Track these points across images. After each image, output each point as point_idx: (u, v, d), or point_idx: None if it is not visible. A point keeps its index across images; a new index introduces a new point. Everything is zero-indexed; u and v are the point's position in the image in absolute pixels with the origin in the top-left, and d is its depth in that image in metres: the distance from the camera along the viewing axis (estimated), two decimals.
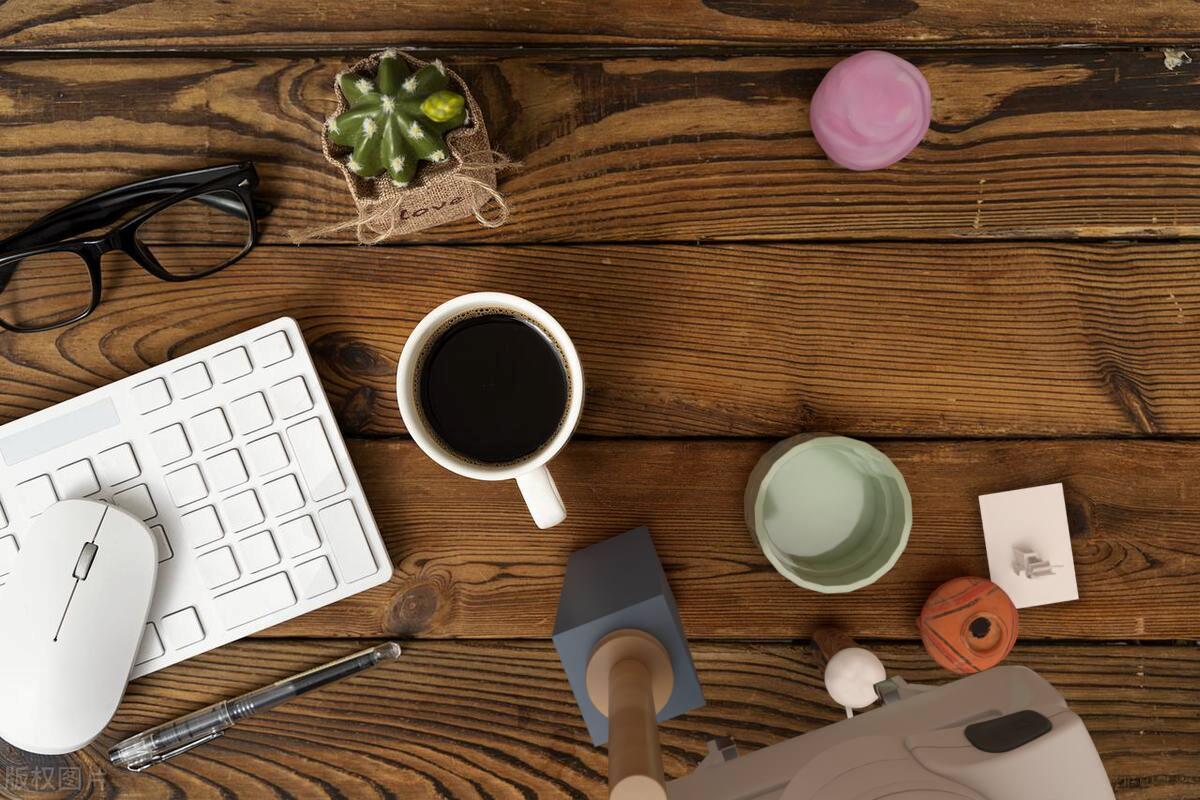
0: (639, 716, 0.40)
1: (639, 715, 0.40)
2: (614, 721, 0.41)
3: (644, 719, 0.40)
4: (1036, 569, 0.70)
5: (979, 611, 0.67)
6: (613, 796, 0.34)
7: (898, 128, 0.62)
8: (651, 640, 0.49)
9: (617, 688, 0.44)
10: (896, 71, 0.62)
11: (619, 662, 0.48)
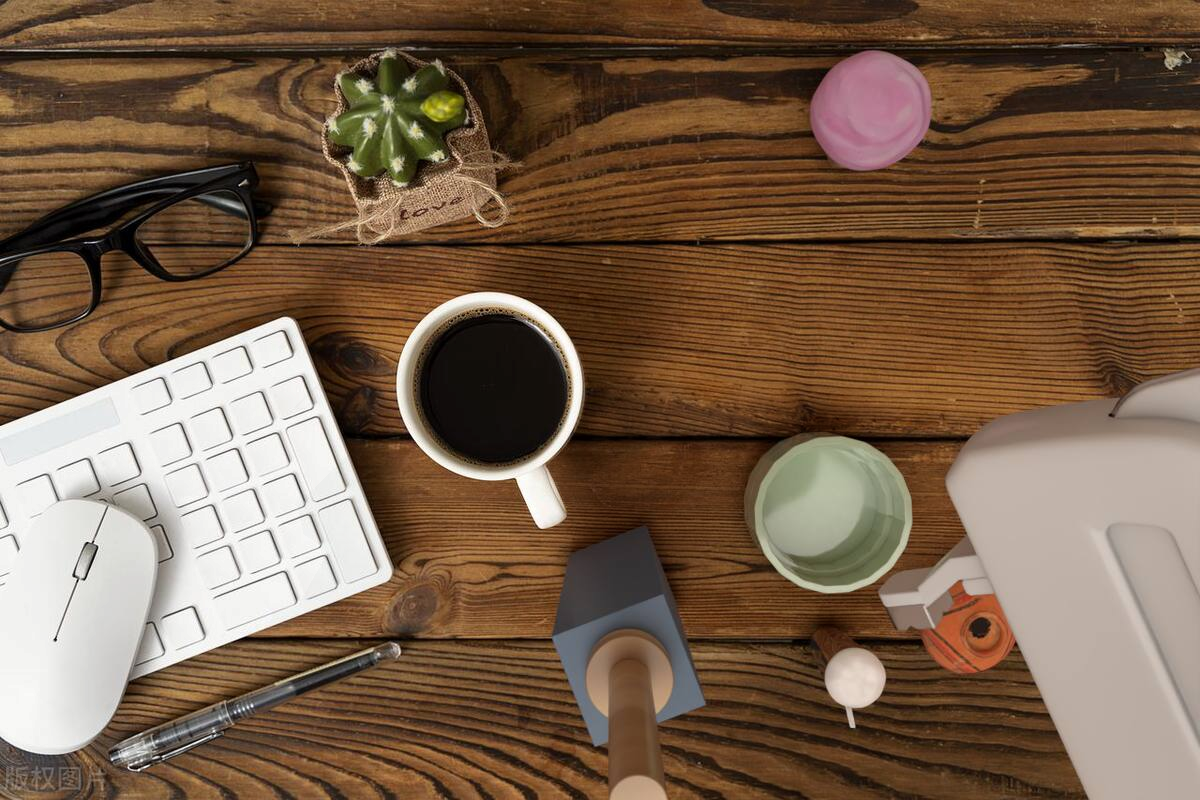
0: (639, 716, 0.40)
1: (639, 715, 0.40)
2: (614, 721, 0.41)
3: (644, 719, 0.40)
4: None
5: (979, 611, 0.67)
6: (613, 796, 0.34)
7: (898, 128, 0.62)
8: (651, 640, 0.49)
9: (617, 688, 0.44)
10: (896, 71, 0.62)
11: (619, 662, 0.48)
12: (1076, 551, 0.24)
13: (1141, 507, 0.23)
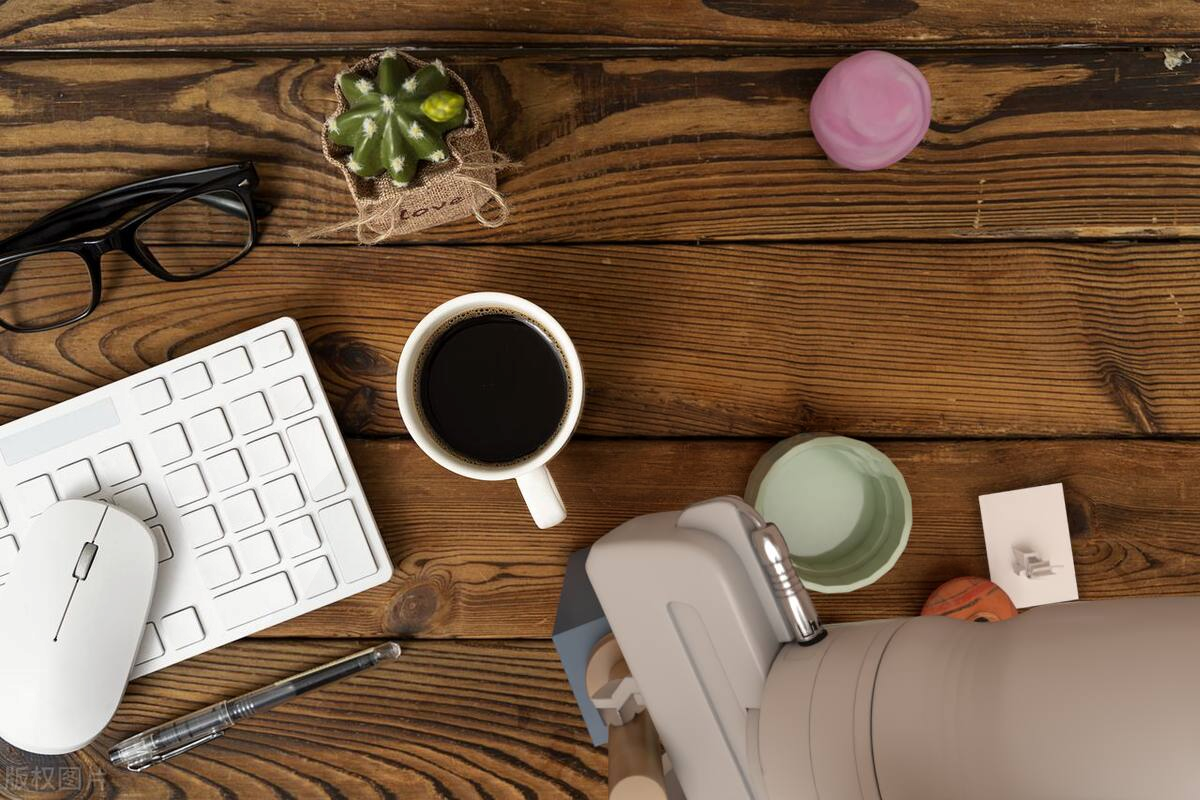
0: (639, 716, 0.40)
1: (639, 715, 0.40)
2: None
3: (644, 719, 0.40)
4: (1036, 569, 0.70)
5: (979, 611, 0.67)
6: (613, 796, 0.34)
7: (898, 128, 0.62)
8: None
9: None
10: (896, 71, 0.62)
11: (619, 662, 0.48)
12: (653, 620, 0.34)
13: (679, 591, 0.33)
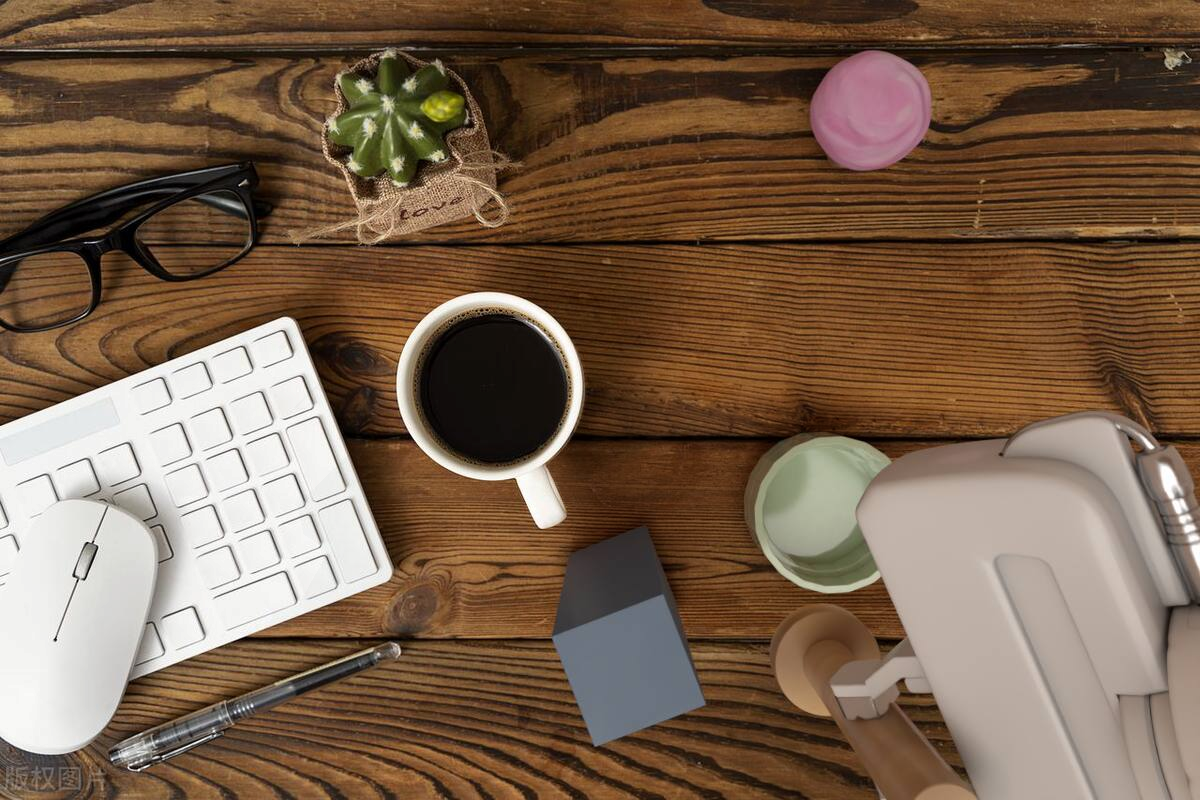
0: (891, 707, 0.32)
1: (890, 705, 0.32)
2: None
3: (898, 711, 0.32)
4: None
5: None
6: None
7: (898, 128, 0.62)
8: (853, 616, 0.40)
9: None
10: (896, 71, 0.62)
11: (817, 643, 0.40)
12: (968, 580, 0.26)
13: (1022, 540, 0.25)
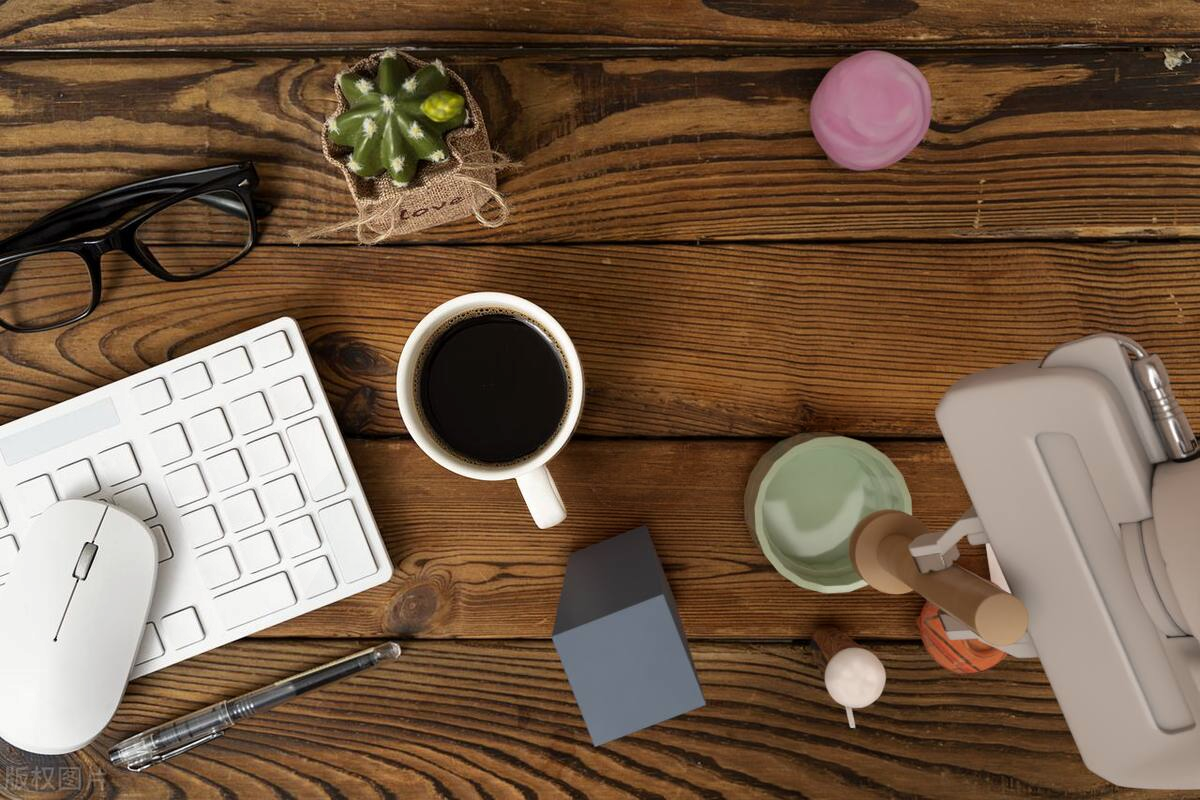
0: (954, 564, 0.44)
1: (953, 563, 0.44)
2: None
3: (960, 566, 0.44)
4: None
5: None
6: (979, 612, 0.38)
7: (898, 128, 0.62)
8: None
9: (907, 551, 0.48)
10: (896, 71, 0.62)
11: (888, 537, 0.52)
12: (1017, 453, 0.38)
13: (1055, 421, 0.36)
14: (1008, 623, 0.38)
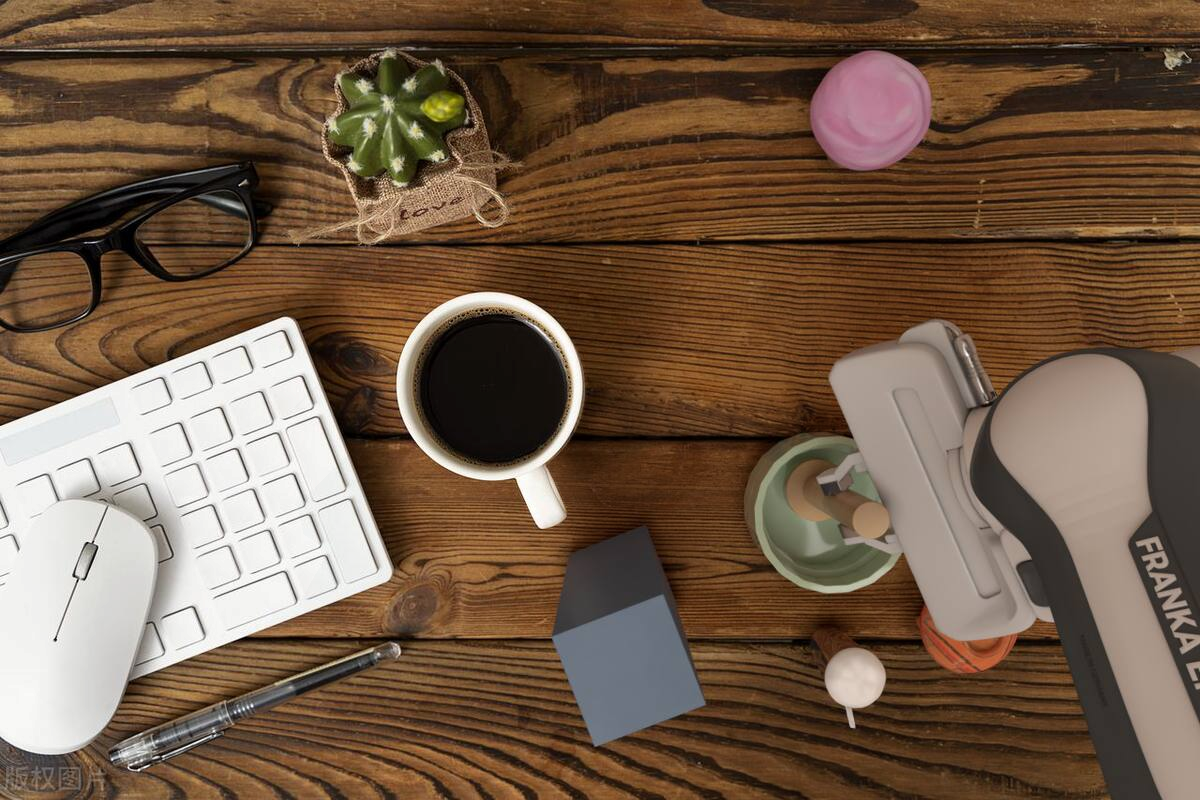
0: (849, 489, 0.60)
1: (848, 489, 0.60)
2: (831, 494, 0.61)
3: None
4: None
5: None
6: (855, 515, 0.54)
7: (898, 128, 0.62)
8: (832, 463, 0.69)
9: None
10: (896, 71, 0.62)
11: (811, 477, 0.68)
12: (881, 404, 0.54)
13: (904, 380, 0.53)
14: (875, 522, 0.54)
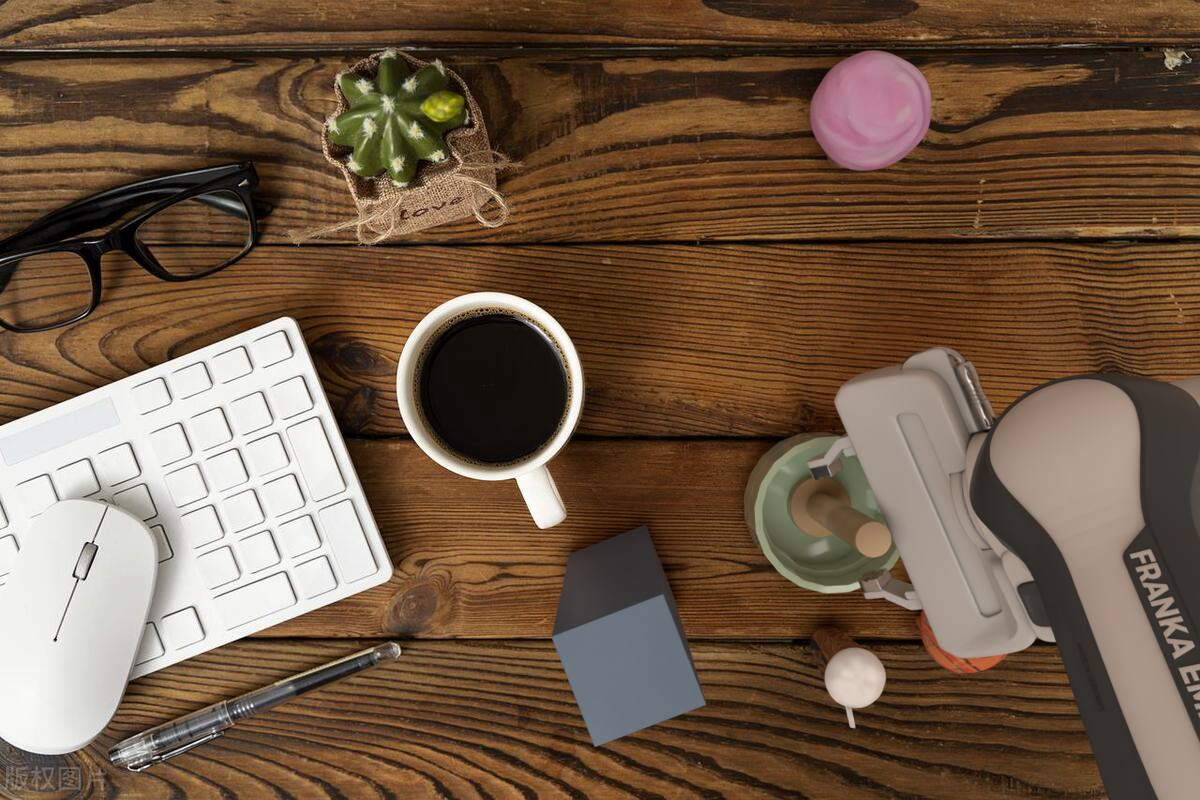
0: (852, 507, 0.62)
1: (851, 507, 0.62)
2: (834, 512, 0.63)
3: None
4: None
5: None
6: (858, 534, 0.56)
7: (898, 128, 0.62)
8: (835, 480, 0.71)
9: (824, 502, 0.66)
10: (896, 71, 0.62)
11: (814, 494, 0.70)
12: (885, 428, 0.56)
13: (908, 405, 0.54)
14: (877, 541, 0.56)
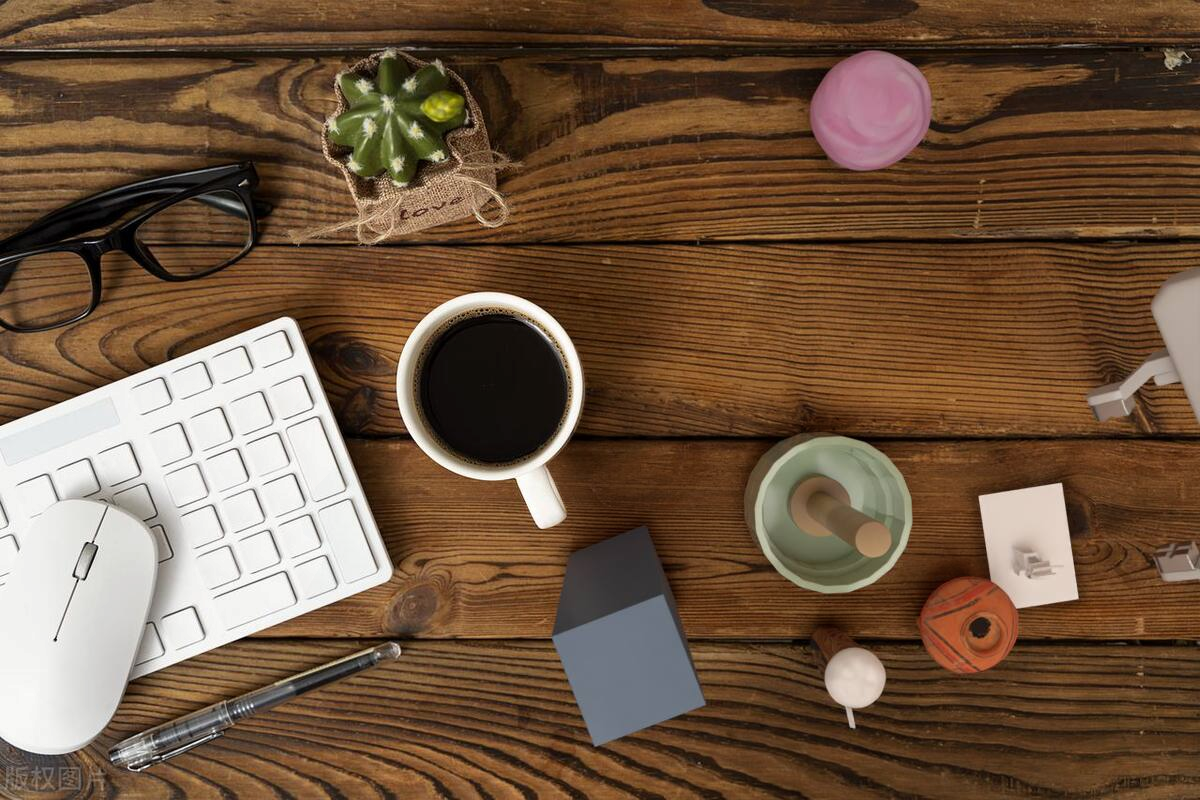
0: (852, 507, 0.62)
1: (851, 507, 0.62)
2: (834, 512, 0.63)
3: None
4: (1036, 569, 0.70)
5: (979, 611, 0.67)
6: (858, 534, 0.56)
7: (898, 128, 0.62)
8: (835, 480, 0.71)
9: (824, 502, 0.66)
10: (896, 71, 0.62)
11: (814, 494, 0.70)
12: None
13: None
14: (877, 541, 0.56)
